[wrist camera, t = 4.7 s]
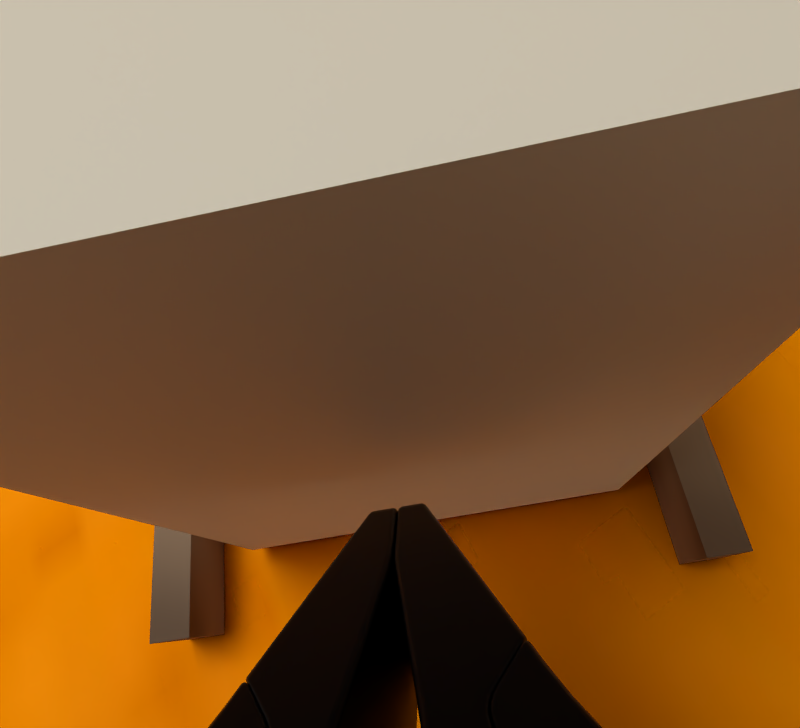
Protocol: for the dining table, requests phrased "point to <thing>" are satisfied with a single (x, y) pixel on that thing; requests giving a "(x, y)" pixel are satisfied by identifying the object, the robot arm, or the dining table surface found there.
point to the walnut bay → (670, 472)
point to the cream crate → (382, 249)
